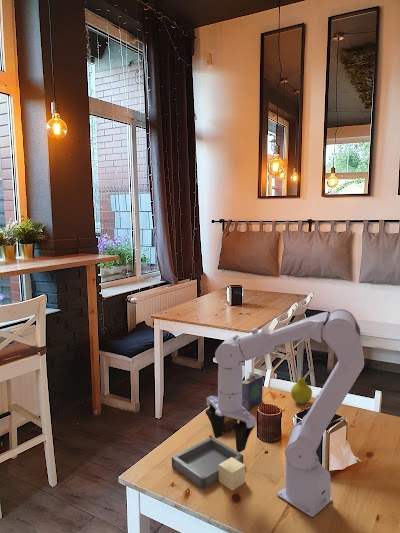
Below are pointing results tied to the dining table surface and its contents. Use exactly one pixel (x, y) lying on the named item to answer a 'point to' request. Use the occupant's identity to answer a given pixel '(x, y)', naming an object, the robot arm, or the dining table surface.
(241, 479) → the cheese cube
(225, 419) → the brown rough rounded lump
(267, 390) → the dining table surface
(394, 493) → the dining table surface
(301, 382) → the fruit
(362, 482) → the dining table surface
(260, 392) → the flask
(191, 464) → the slate tray
